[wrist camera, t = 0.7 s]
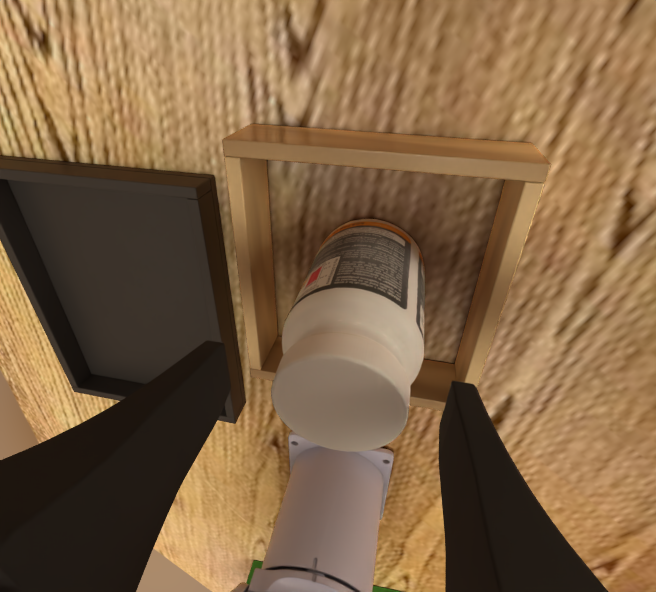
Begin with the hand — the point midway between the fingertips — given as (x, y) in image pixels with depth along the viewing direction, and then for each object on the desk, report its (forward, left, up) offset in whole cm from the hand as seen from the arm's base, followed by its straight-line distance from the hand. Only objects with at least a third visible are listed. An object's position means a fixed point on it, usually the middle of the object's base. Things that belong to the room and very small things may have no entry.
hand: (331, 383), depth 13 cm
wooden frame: (-1, 0, -10) cm, 10 cm away
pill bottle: (-1, 0, -10) cm, 10 cm away
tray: (-6, +15, -10) cm, 19 cm away
